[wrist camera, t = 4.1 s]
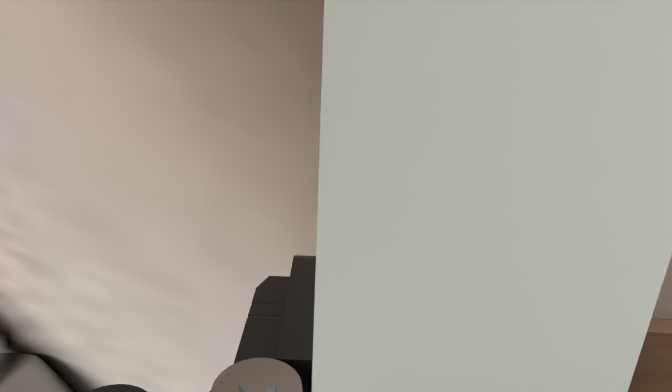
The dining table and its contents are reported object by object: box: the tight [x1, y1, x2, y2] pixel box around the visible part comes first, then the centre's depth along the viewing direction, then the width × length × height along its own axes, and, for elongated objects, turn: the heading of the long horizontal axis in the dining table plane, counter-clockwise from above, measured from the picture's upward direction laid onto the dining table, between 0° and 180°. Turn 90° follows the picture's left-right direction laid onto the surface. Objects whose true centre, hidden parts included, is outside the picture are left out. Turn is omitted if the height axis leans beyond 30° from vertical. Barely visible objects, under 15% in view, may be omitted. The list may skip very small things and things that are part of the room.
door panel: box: [312, 0, 672, 392], centre depth 9 cm, size 12×3×9 cm, turn 177°
